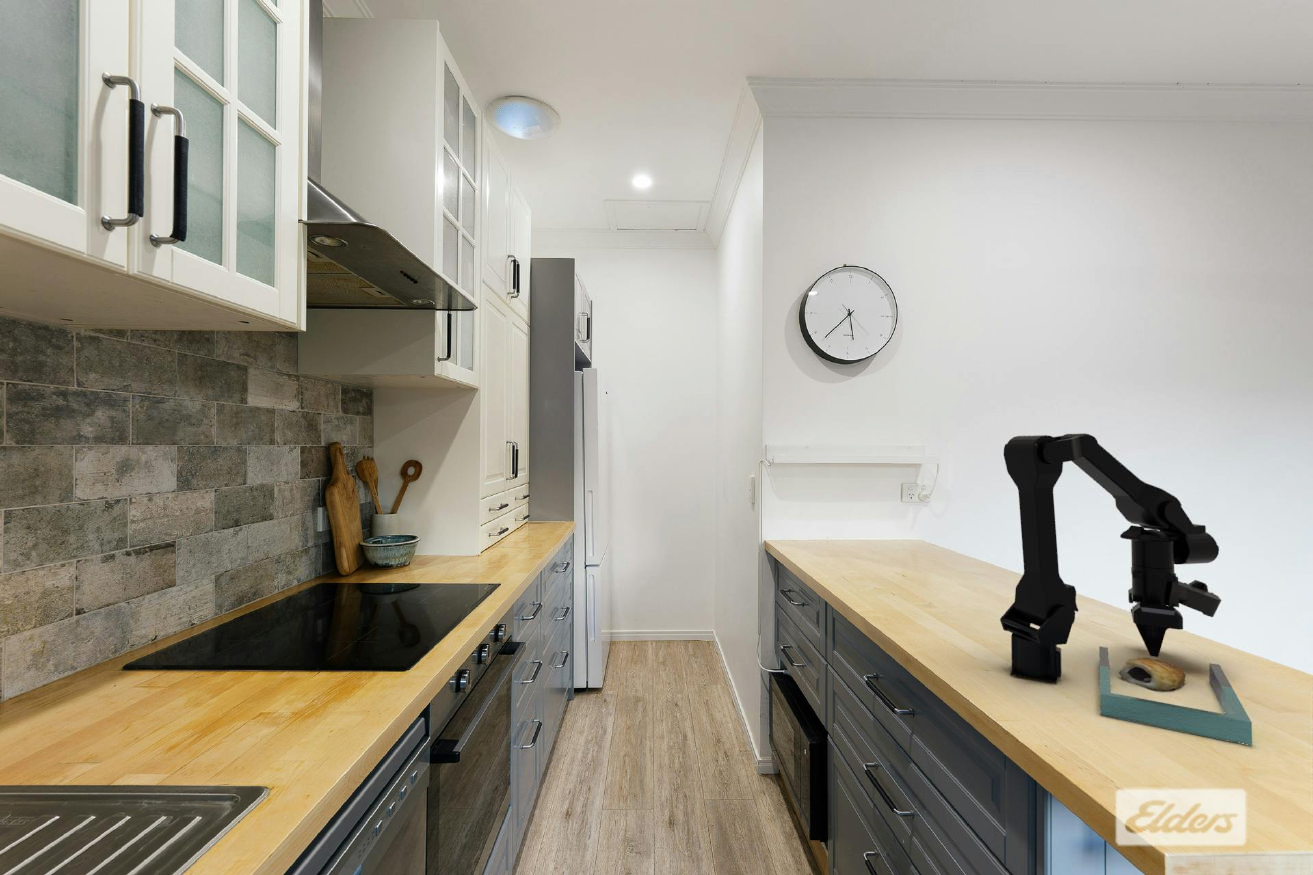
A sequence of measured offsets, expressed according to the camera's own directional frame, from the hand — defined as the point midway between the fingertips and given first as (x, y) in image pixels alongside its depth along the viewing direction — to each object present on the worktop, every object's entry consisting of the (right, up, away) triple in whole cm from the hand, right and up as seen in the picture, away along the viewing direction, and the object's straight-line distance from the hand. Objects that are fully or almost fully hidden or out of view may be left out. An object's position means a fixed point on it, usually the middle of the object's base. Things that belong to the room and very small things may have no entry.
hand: (1154, 655), depth 104 cm
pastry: (-6, -2, -7) cm, 10 cm away
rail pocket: (-10, -1, -14) cm, 17 cm away
